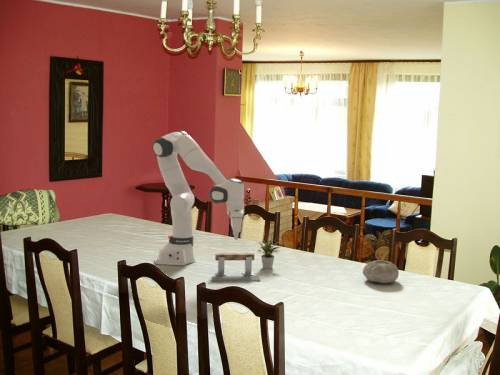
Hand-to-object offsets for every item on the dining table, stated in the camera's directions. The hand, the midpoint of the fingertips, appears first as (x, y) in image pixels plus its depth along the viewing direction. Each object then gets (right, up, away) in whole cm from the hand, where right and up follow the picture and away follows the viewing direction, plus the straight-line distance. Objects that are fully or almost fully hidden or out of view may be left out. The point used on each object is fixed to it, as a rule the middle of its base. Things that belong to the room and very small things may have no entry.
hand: (235, 237), depth 307 cm
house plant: (+16, -18, +17) cm, 29 cm away
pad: (0, -21, -5) cm, 21 cm away
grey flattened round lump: (+73, -22, -3) cm, 77 cm away
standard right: (+6, -20, +4) cm, 21 cm away
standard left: (-8, -19, +2) cm, 21 cm away
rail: (0, -12, +2) cm, 12 cm away
